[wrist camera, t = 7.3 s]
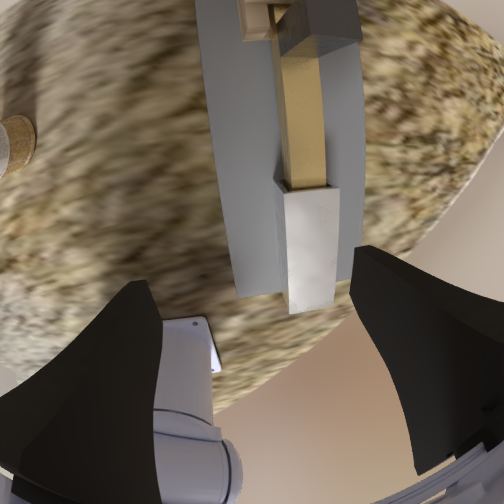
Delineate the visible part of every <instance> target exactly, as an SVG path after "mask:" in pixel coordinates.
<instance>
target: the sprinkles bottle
mask: <svg viewBox="0 0 504 504" xmlns="http://www.w3.org/2000/svg"><path fill="white" fill-rule="evenodd" d="M34 148H35V133H34V128H33V126H32V123H31V122H30V120H29V119H28V118H27V117H25V116H23V115H14V116H12V117H10V118H8V119H3V120H0V178H2V177H4V176H6V175H7V174H9V173H12V172H14V171H15V172H16V171H19V170H21V169H23V168H24V167H25V166H26V165H27V164H28V162H29V161H30V160H31V157H32V155H33V152H34Z"/></svg>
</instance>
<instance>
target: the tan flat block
mask: <svg viewBox="0 0 504 504" xmlns="http://www.w3.org/2000/svg"><path fill="white" fill-rule="evenodd" d="M267 8H268V15H269V22H270V28H269V36H270V44H271V52H272V60H273V68H274V77H275V86H276V95H277V105H278V115H279V126H280V137H281V149H282V161H283V175H284V187H285V189H286V190H287V191H288V192H289V191H298V190H308V189H317V188H326V159H325V135H324V118H323V104H322V92H321V81H320V71H319V62H318V58H319V57H321V56H323V55H326V54H328V53H331V52H333V51H335V50H338V49H340V48H343V47H346V46H348V45H351V44H354V43H356V42H359V41H362V40H363V38H362V31H361V25H360V19H359V14H358V9H357V4H356V0H295V1H294V2H293V3H292V4H279V3H269V5H268V6H267Z"/></svg>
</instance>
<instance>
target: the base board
mask: <svg viewBox="0 0 504 504" xmlns="http://www.w3.org/2000/svg"><path fill="white" fill-rule="evenodd" d="M195 10H196V19H197V29H198V37H199V46H200V55H201V63H202V71H203V79H204V87H205V94H206V102H207V109H208V117H209V124H210V131H211V138H212V145H213V152H214V159H215V165H216V172H217V179H218V185H219V191H220V198H221V204H222V210H223V217H224V223H225V229H226V235H227V241H228V247H229V253H230V259H231V264H232V270H233V276H234V282H235V287H236V293H237V298H245V297H251V296H258V295H264V294H270V293H276V292H282V291H281V288H280V274H279V258H278V243H277V229H276V216H275V203H274V191H273V179H275V178H284V175H283V161H282V149H281V137H280V126H279V115H278V105H277V95H276V86H275V77H274V68H273V60H272V52H271V44H270V40H261V41H245V42H243V41H242V34H241V26H240V18H239V10H238V3H237V0H195ZM318 62H319V71H320V81H321V92H322V104H323V118H324V135H325V159H326V178H327V179H328V180H329V181H331V182H332V183H334V184H335V185H336V186H338V187H339V188H340V211H339V237H338V255H337V269H336V281H335V282H338V281H343V280H348V279H351V276H352V268H353V258H354V248H355V247H361V238H362V226H363V213H364V196H365V163H366V140H365V108H364V92H363V79H362V69H361V59H360V51H359V44H358V42H356V43H354V44H351V45H348V46H346V47H343V48H340V49H338V50H335V51H333V52H331V53H328V54H326V55H323V56H321V57H319V58H318Z"/></svg>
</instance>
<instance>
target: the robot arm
mask: <svg viewBox="0 0 504 504" xmlns="http://www.w3.org/2000/svg"><path fill="white" fill-rule="evenodd" d="M349 294H350V297H351V299H352V302H353V304H354V307H355V309H356V311H357V313H358V316H359V318H360V319H361V321H362V323H363V325H364V326H365V328H366V330H367V332H368V333H369V335H370V337H371V338H372V340H373V342H374V344H375V346H376V347H377V349H378V351H379V353H380V355H381V356H382V358H383V360H384V362H385V364H386V366H387V368H388V370H389V372H390V374H391V377H392V380H393V382H394V385H395V387H396V390H397V393H398V396H399V399H400V402H401V405H402V408H403V412H404V415H405V419H406V423H407V427H408V431H409V435H410V440H411V446H412V452H413V458H414V467H415V469H416V472H417V475H418V476H420V475H421V474H423V473H425V472H427V471H429V470H431V469H432V468H434V467H436V466H438V465H439V464H441V463H443V462H444V461H446V460H447V459H449V458H450V457H452V456H455V458H456V460H455V461H454V462H452V463H451V464H450V465H448V466H446V467H445V468H443V469H441V470H440V471H438V472H436V473H434V474H433V475H431V476H429V477H427V478H426V479H424V480H422V481H420V482H418V483H416V484H414V485H412V486H411V487H408V488H406V489H405V490H402V491H400V492H398V493H396V494H393V495H391V496H389V497H387V498H384V499H382V500H379V501H377V502H374V503H372V504H420V503H422V502H423V501H425V500H427V499H429V498H431V497H432V496H434V495H436V494H437V493H439V492H441V491H442V490H444V489H446V488H447V489H446V492H445V494H444V495H441V496H439V497H437V498H435V499H433V500H430V501H428V502H426V503H424V504H504V302H499V301H496V300H493V299H490V298H487V297H483V296H480V295H477V294H475V293H472V292H469V291H467V290H464V289H462V288H459V287H457V286H454V285H452V284H449V283H447V282H445V281H443V280H441V279H439V278H436V277H435V276H432V275H430V274H428V273H426V272H424V271H422V270H420V269H418V268H416V267H414V266H412V265H411V264H408V263H407V262H405V261H403V260H401V259H399V258H397V257H395V256H393V255H391V254H389V253H387V252H385V251H383V250H381V249H378V248H376V247H374V246H371V245H367V246H361V247H355V248H354V258H353V268H352V276H351V285H350V292H349ZM194 322H197V323H194ZM220 371H221V364H220V361H219V358H218V355H217V352H216V349H215V346H214V342H213V339H212V336H211V333H210V330H209V326H208V323H207V320H206V318H205V317H202V316H199V317H191V318H183V319H174V320H164V321H162V319H161V317H160V314H159V312H158V310H157V307H156V305H155V302H154V300H153V297H152V295H151V292H150V289H149V287H148V284H147V282H146V279H145V280H138V281H131V282H129V283H128V284H127V285H126V286H124V287H123V288H122V289H121V290H120V291H119V292H118V293H117V295H116V296H115V297H114V298H113V299H112V300H111V301H110V302H109V303H108V304H107V305H106V306H105V307H104V308H103V310H102V311H101V312H100V313H99V314H98V315H97V316H96V317H95V318H94V319H93V320H92V321H91V322H90V324H89V325H88V326H87V327H86V328H85V329H84V330H83V331H82V332H81V333H80V334H79V335H78V336H77V337H76V338H75V339H74V340H73V341H72V342H71V343H70V344H69V345H68V346H67V347H66V348H65V349H64V350H63V351H61V352H60V353H59V354H58V355H57V356H56V357H55V358H54V359H53V360H51V361H50V362H49V363H48V364H47V365H45V366H44V367H43V368H41V369H40V370H39V371H38V372H36V373H35V374H34V375H32V376H31V377H30V378H29V379H27V380H26V381H24V382H23V383H22V384H20V385H19V386H17V387H16V388H14V389H12V390H11V391H9V392H8V393H6V394H4V395H3V396H1V397H0V466H1V467H2V468H4V469H5V470H7V471H9V472H10V473H12V474H14V476H13V480H11V479H9V478H8V477H6V476H4V475H2V474H1V473H0V504H235V503H236V500H237V499H238V497H239V495H240V492H241V489H242V483H243V469H242V463H241V458H240V455H239V453H238V451H237V450H236V448H235V447H234V446H233V444H232V443H231V442H230V441H229V440H227V439H222V435H221V428H219V427H214V424H213V400H212V373H215V372H220Z"/></svg>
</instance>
